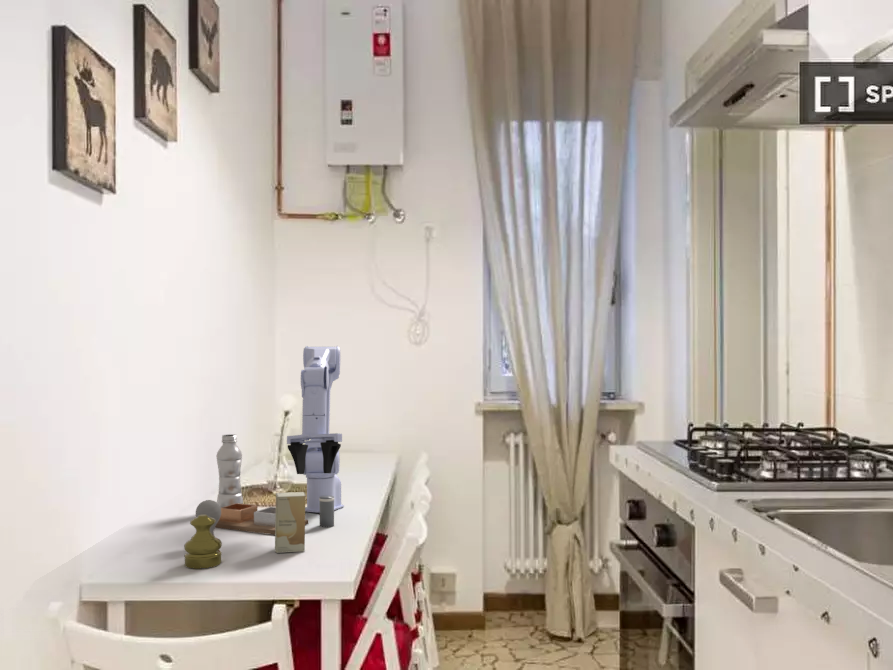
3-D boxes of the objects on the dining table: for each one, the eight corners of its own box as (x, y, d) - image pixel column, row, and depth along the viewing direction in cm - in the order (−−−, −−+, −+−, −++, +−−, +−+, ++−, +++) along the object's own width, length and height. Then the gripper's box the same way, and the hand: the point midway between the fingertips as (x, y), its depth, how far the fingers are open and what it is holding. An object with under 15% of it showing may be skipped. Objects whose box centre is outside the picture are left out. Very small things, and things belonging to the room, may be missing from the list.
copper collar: (236, 515, 208) (236, 503, 208) (257, 517, 205) (257, 505, 205) (219, 520, 202) (219, 508, 202) (240, 523, 199) (240, 510, 199)
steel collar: (270, 518, 203) (270, 506, 203) (292, 521, 201) (292, 509, 201) (254, 524, 198) (253, 512, 198) (276, 527, 195) (276, 514, 195)
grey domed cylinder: (324, 523, 203) (324, 494, 203) (337, 524, 201) (337, 496, 201) (316, 526, 200) (316, 497, 199) (329, 528, 198) (328, 498, 198)
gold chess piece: (225, 559, 172) (225, 511, 172) (217, 569, 164) (216, 519, 164) (190, 559, 172) (189, 511, 172) (179, 569, 164) (179, 519, 164)
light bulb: (211, 540, 187) (211, 496, 186) (226, 544, 183) (226, 499, 183) (190, 545, 182) (190, 500, 182) (205, 549, 179) (204, 503, 179)
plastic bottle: (236, 514, 213) (235, 437, 213) (212, 513, 214) (211, 436, 214) (247, 509, 219) (246, 434, 219) (223, 508, 220) (223, 433, 220)
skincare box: (275, 553, 175) (275, 496, 175) (274, 548, 180) (274, 492, 179) (306, 551, 177) (306, 494, 177) (304, 546, 181) (304, 490, 181)
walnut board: (236, 515, 211) (236, 511, 211) (308, 524, 202) (308, 519, 202) (204, 526, 200) (204, 522, 200) (278, 535, 191) (278, 531, 191)
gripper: (279, 417, 198) (278, 474, 196) (330, 413, 192) (330, 472, 190) (296, 419, 204) (296, 474, 202) (346, 415, 198) (346, 473, 196)
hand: (313, 473), depth 196 cm, fingers open, 7 cm apart
